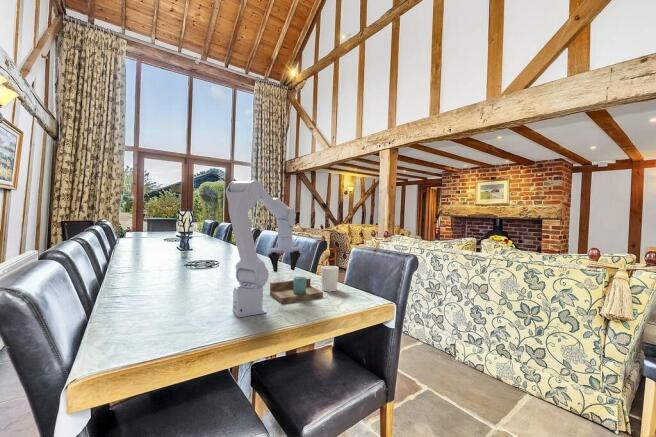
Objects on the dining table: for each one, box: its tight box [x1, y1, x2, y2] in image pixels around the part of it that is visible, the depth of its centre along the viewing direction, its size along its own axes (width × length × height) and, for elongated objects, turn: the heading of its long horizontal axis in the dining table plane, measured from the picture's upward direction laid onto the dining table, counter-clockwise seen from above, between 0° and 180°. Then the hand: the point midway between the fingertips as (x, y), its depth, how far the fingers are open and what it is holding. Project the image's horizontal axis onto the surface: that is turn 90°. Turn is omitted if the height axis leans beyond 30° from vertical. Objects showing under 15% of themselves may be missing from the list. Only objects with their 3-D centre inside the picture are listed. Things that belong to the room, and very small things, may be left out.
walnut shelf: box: [269, 277, 324, 304], centre depth 115 cm, size 18×12×5 cm, turn 122°
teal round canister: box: [293, 276, 307, 295], centre depth 112 cm, size 5×5×6 cm
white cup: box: [320, 265, 340, 293], centre depth 125 cm, size 8×8×10 cm
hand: (284, 270), depth 114 cm, fingers open, 7 cm apart
